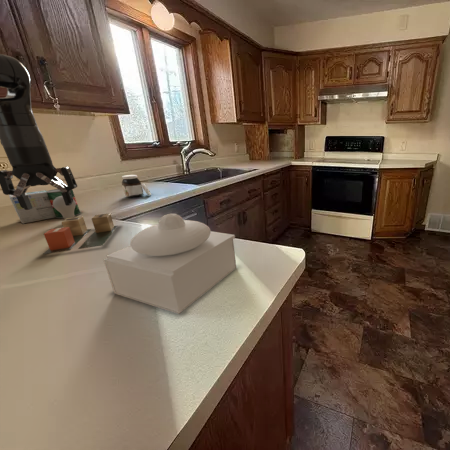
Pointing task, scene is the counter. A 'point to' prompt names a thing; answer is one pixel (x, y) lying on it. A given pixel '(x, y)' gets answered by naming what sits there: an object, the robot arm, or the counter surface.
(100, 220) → the tan wooden block
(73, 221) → the tan wooden cube
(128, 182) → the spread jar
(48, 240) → the orange block
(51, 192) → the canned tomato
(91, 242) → the dark green flat slab
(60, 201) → the lightbulb
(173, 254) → the butter dish
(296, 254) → the counter surface
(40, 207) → the light bulb box
